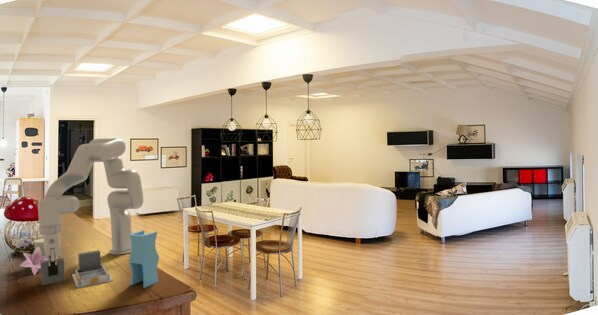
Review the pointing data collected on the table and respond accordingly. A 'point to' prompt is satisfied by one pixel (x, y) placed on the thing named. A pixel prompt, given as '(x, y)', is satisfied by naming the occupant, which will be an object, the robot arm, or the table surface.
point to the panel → (55, 278)
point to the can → (40, 246)
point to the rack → (90, 270)
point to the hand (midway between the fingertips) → (53, 273)
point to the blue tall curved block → (143, 258)
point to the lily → (34, 260)
